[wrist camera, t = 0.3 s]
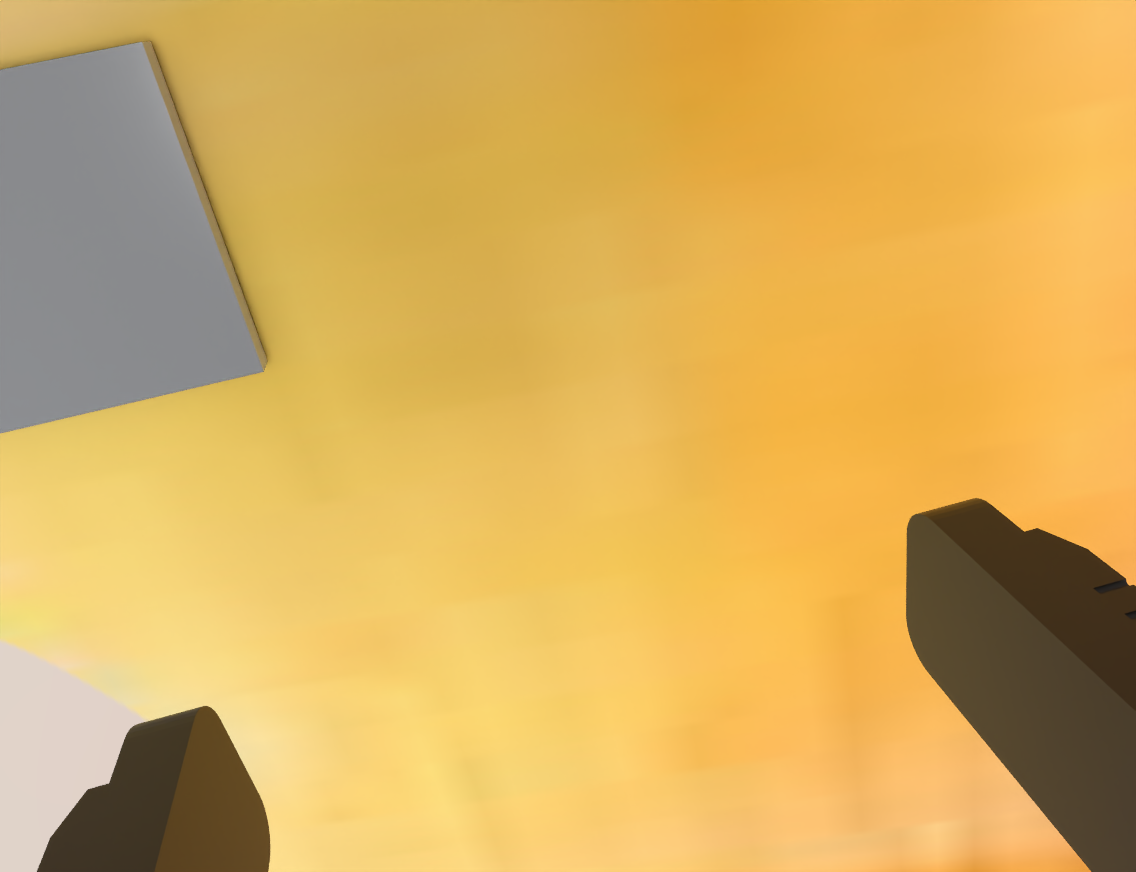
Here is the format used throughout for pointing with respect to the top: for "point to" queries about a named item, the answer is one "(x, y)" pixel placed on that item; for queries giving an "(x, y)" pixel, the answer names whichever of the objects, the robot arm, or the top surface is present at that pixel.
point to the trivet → (107, 245)
